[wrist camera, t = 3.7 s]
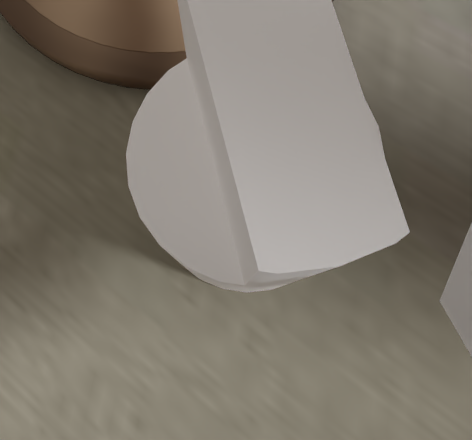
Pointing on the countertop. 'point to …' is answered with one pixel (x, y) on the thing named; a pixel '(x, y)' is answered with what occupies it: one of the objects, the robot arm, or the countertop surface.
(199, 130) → the cylinder with rectangular tab
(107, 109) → the countertop surface
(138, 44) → the board
